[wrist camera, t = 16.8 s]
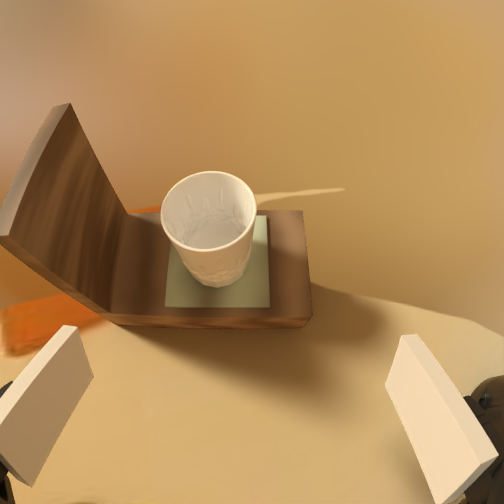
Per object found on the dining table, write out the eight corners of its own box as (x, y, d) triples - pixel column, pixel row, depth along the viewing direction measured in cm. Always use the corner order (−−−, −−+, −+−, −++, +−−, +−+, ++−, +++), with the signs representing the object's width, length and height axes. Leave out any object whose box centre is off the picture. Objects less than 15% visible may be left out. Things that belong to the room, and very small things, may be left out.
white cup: (259, 234, 35) (264, 177, 26) (246, 300, 31) (246, 260, 22) (193, 223, 35) (177, 166, 26) (173, 285, 32) (147, 242, 23)
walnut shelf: (295, 234, 42) (334, 86, 20) (302, 327, 36) (380, 229, 15) (128, 236, 41) (53, 107, 20) (115, 324, 36) (-10, 236, 14)
